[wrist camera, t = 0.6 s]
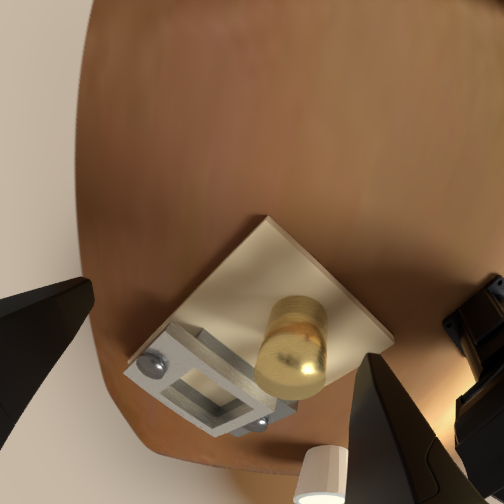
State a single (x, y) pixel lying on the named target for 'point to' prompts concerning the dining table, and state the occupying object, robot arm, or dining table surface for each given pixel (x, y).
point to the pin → (293, 349)
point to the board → (262, 301)
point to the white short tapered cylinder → (323, 476)
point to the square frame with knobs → (214, 367)
